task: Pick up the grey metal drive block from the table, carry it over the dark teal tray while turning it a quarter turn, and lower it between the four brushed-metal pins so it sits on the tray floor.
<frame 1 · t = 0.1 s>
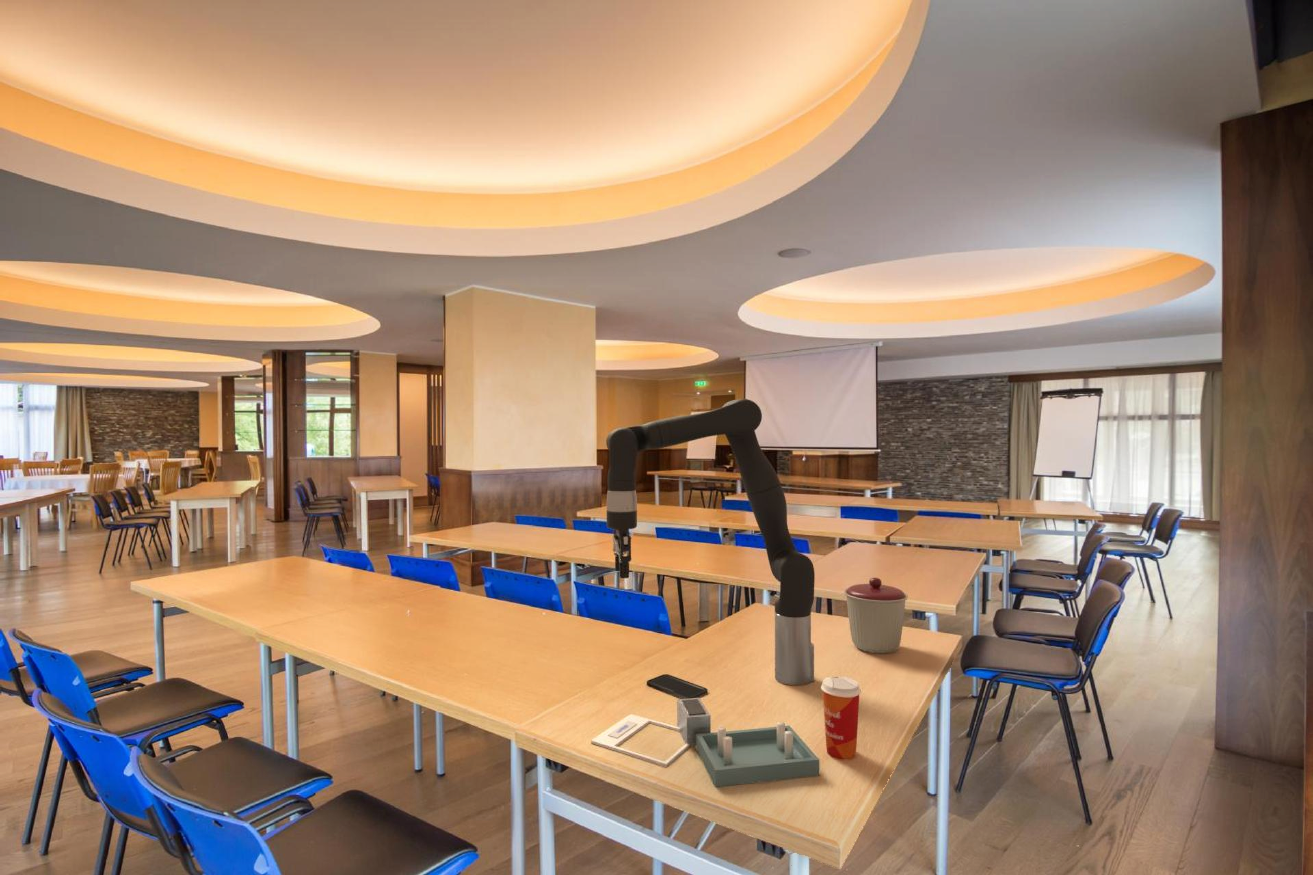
hand: (621, 574, 154), 29 cm above the table, fingers open, 8 cm apart
photo frame: (646, 742, 130), on the table
canister: (875, 648, 186), on the table
tray: (755, 761, 121), on the table
paper cup: (841, 753, 124), on the table
phone: (676, 690, 156), on the table
drive: (693, 735, 132), on the table
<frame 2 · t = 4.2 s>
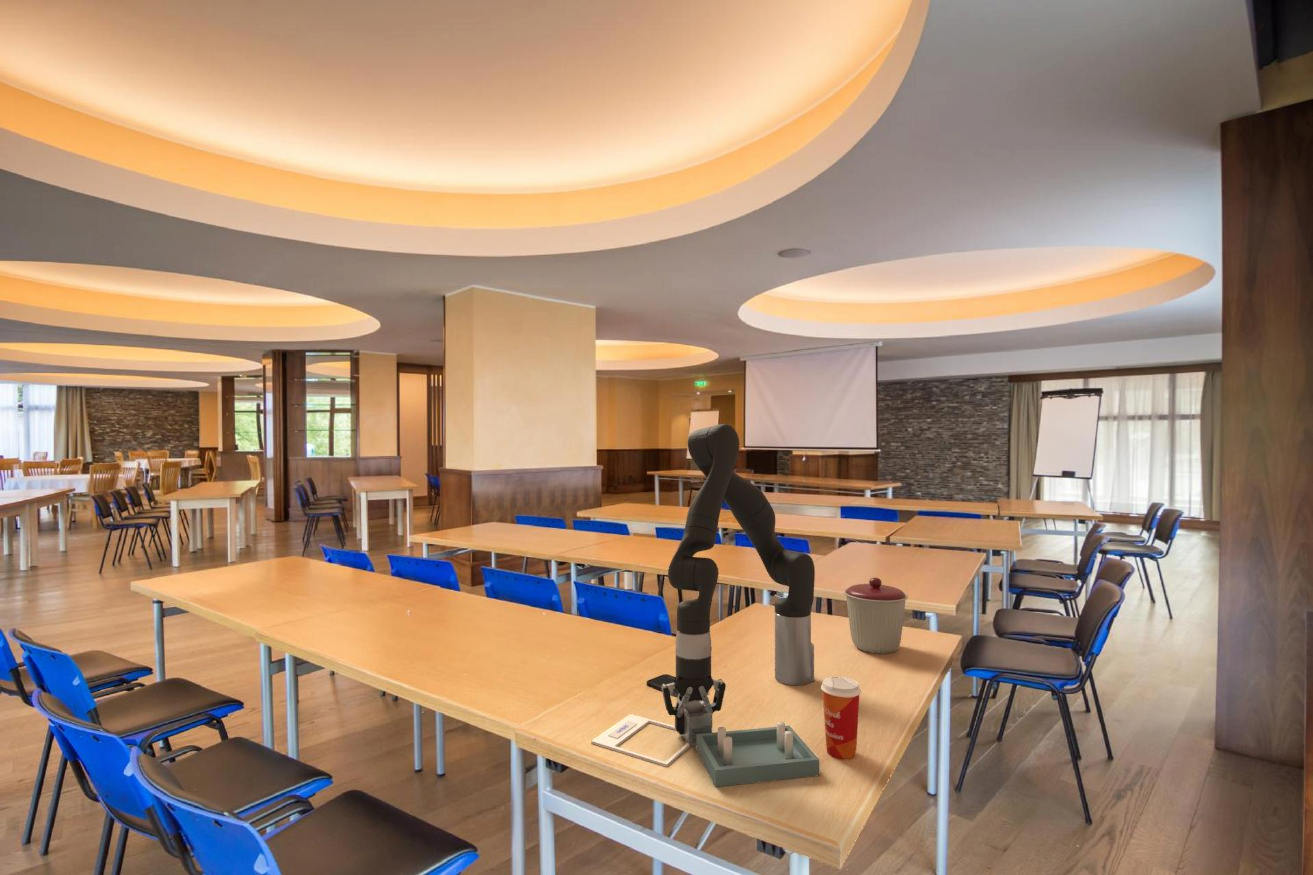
hand: (693, 731, 132), 1 cm above the table, fingers closed on drive, 5 cm apart
drive: (693, 734, 132), on the table, touching gripper
everything else where it was.
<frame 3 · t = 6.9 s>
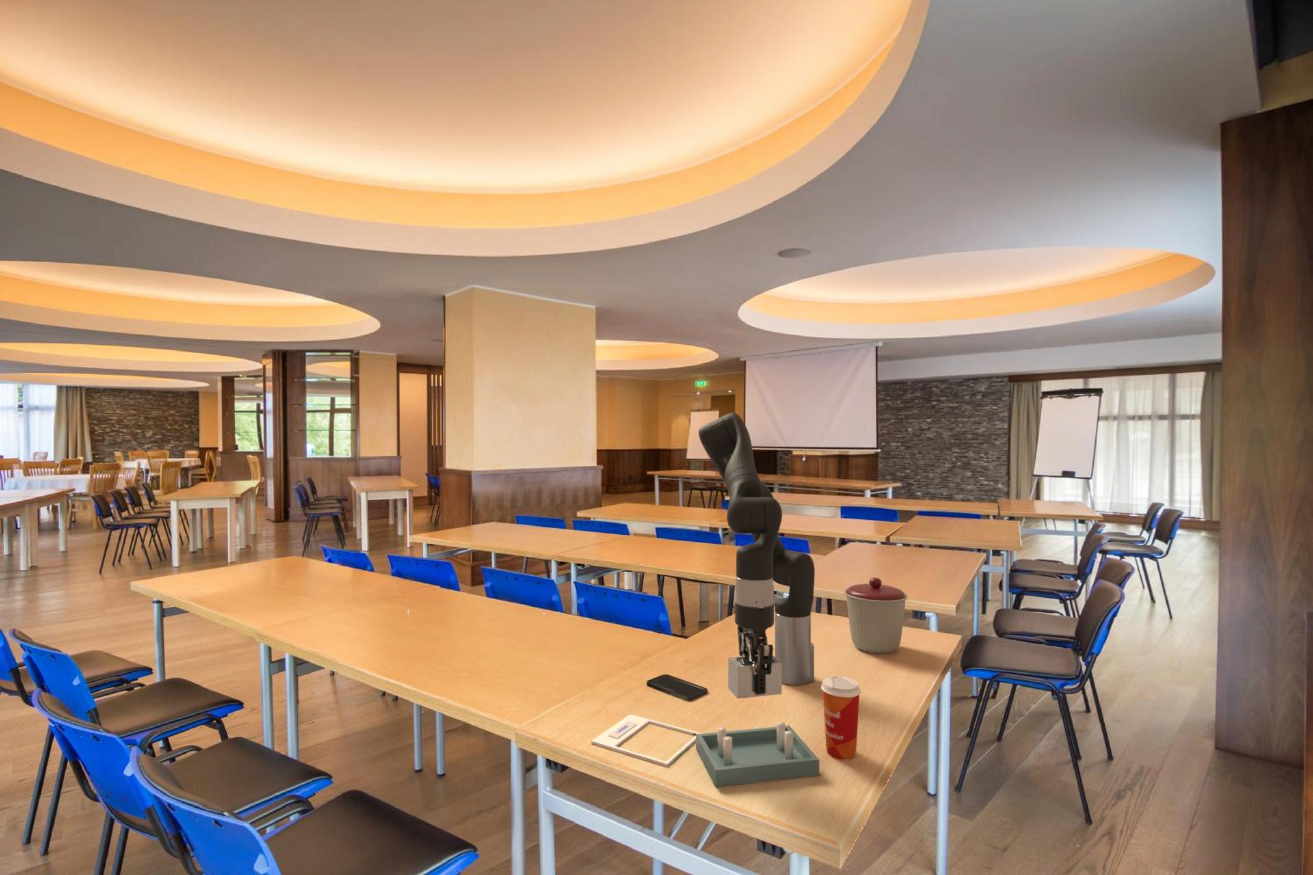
hand: (754, 687, 121), 14 cm above the table, fingers closed on drive, 5 cm apart
drive: (754, 691, 121), point 14 cm above the table, touching gripper
everything else where it was.
when the fingers open (3 cm above the table, at t = 9.6 s): drive drops 2 cm, resting on tray.
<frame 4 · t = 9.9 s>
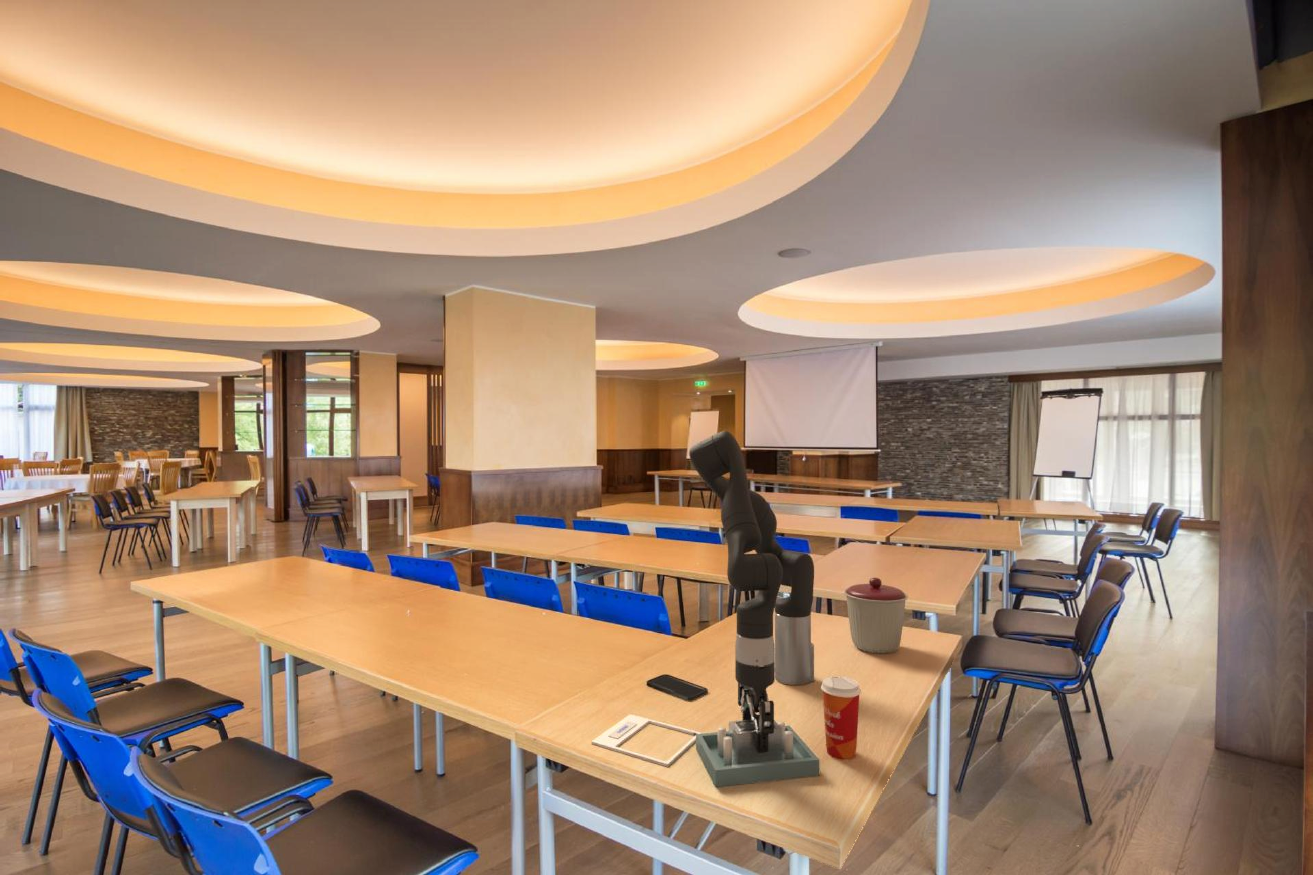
hand: (755, 741, 121), 4 cm above the table, fingers open, 7 cm apart
drive: (755, 756, 121), point 1 cm above the table, touching tray
everything else where it was.
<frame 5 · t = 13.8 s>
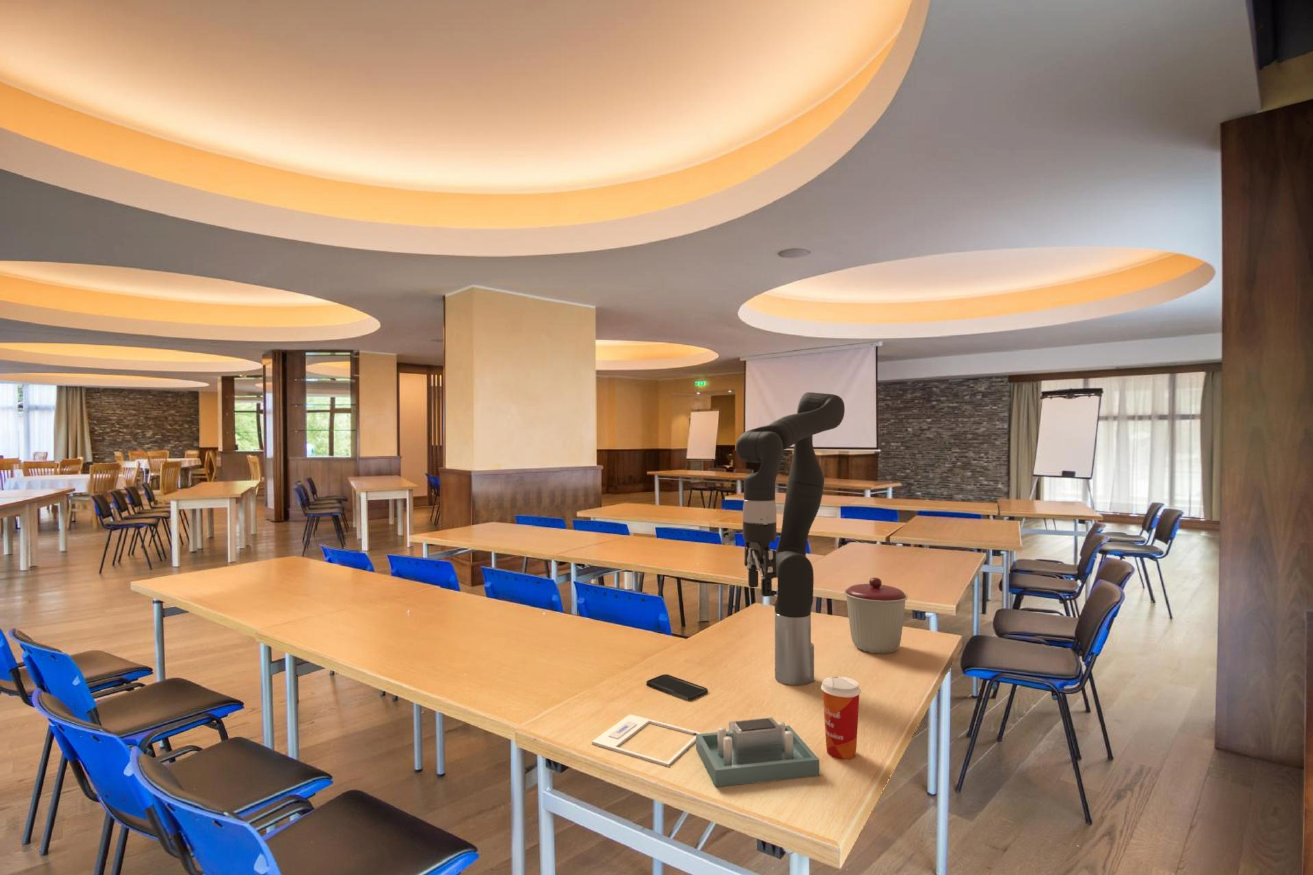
hand: (759, 591, 141), 28 cm above the table, fingers open, 8 cm apart
nothing on the table moved.
at the end: drive 0.2 cm off-centre on the tray, point 1.0 cm above the tray's base; drive tilted 0°; the gripper is holding nothing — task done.
